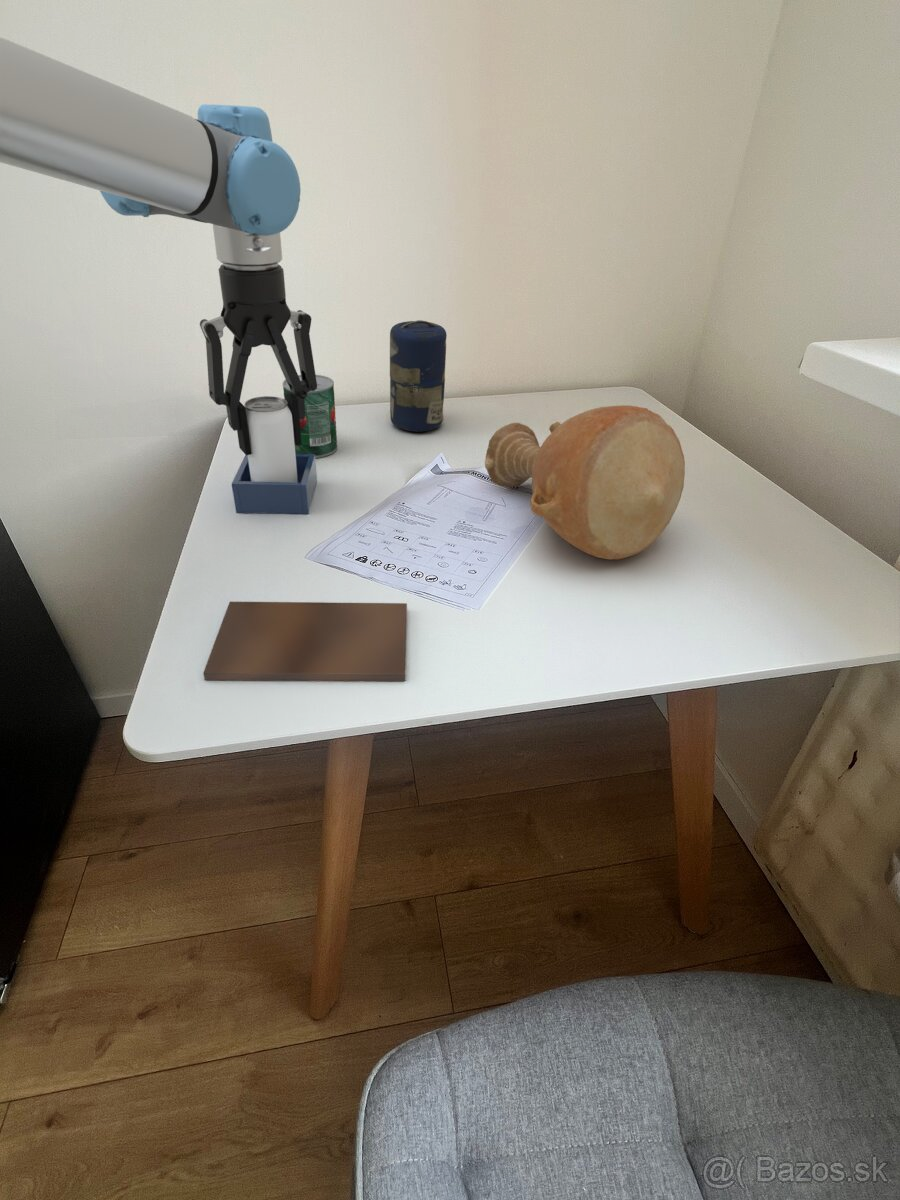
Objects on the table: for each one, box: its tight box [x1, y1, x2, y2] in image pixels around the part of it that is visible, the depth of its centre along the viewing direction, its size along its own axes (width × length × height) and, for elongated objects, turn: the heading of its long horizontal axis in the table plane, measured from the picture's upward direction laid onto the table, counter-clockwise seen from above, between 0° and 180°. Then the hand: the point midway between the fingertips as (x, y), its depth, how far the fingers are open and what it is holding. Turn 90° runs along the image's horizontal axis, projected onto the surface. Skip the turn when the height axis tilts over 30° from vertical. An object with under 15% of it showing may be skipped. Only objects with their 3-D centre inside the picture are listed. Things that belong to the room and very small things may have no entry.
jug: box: [484, 404, 686, 560], centre depth 93 cm, size 20×19×30 cm
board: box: [202, 601, 408, 682], centre depth 75 cm, size 20×12×1 cm, turn 92°
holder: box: [231, 454, 318, 515], centre depth 100 cm, size 10×10×4 cm
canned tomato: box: [282, 374, 338, 459], centre depth 112 cm, size 8×8×11 cm
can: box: [243, 395, 298, 482], centre depth 96 cm, size 6×6×12 cm
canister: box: [389, 319, 448, 433], centre depth 119 cm, size 10×10×18 cm
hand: (270, 446), depth 96 cm, fingers closed on can, 6 cm apart
